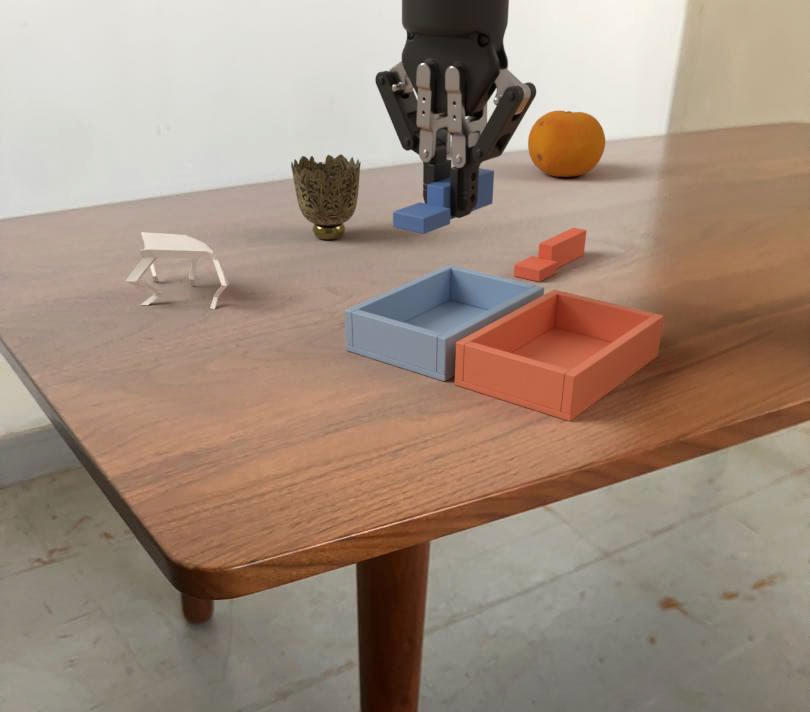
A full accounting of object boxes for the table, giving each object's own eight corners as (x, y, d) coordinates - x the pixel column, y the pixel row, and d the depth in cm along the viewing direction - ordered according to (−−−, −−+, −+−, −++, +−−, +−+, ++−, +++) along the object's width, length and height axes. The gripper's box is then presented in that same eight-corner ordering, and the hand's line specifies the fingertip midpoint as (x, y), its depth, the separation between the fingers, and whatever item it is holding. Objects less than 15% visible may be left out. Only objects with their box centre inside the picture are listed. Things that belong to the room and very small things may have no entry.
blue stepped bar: (469, 199, 77) (470, 166, 75) (499, 205, 75) (501, 171, 74) (392, 227, 70) (392, 192, 68) (424, 234, 68) (424, 198, 67)
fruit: (603, 167, 130) (610, 105, 126) (599, 184, 122) (606, 119, 117) (530, 163, 132) (534, 102, 128) (520, 180, 124) (525, 116, 119)
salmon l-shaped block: (565, 250, 98) (567, 226, 97) (590, 256, 97) (592, 231, 95) (513, 276, 92) (515, 250, 90) (539, 282, 90) (541, 255, 89)
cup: (358, 225, 106) (356, 152, 102) (367, 244, 100) (365, 167, 96) (293, 229, 105) (288, 154, 101) (298, 248, 99) (293, 170, 95)
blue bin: (541, 325, 81) (544, 286, 79) (444, 381, 71) (445, 339, 69) (447, 301, 86) (448, 264, 84) (345, 350, 76) (344, 309, 74)
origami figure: (103, 303, 85) (93, 250, 83) (156, 275, 92) (148, 225, 89) (214, 321, 82) (207, 266, 79) (261, 291, 88) (256, 239, 85)
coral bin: (657, 356, 75) (664, 315, 73) (569, 421, 66) (575, 376, 64) (550, 328, 80) (554, 289, 78) (454, 384, 71) (455, 341, 69)
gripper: (572, -46, 62) (548, 217, 72) (410, -51, 69) (409, 190, 78) (512, -43, 57) (496, 240, 67) (344, -48, 64) (352, 209, 73)
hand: (449, 212), depth 72 cm, fingers closed on blue stepped bar, 1 cm apart
